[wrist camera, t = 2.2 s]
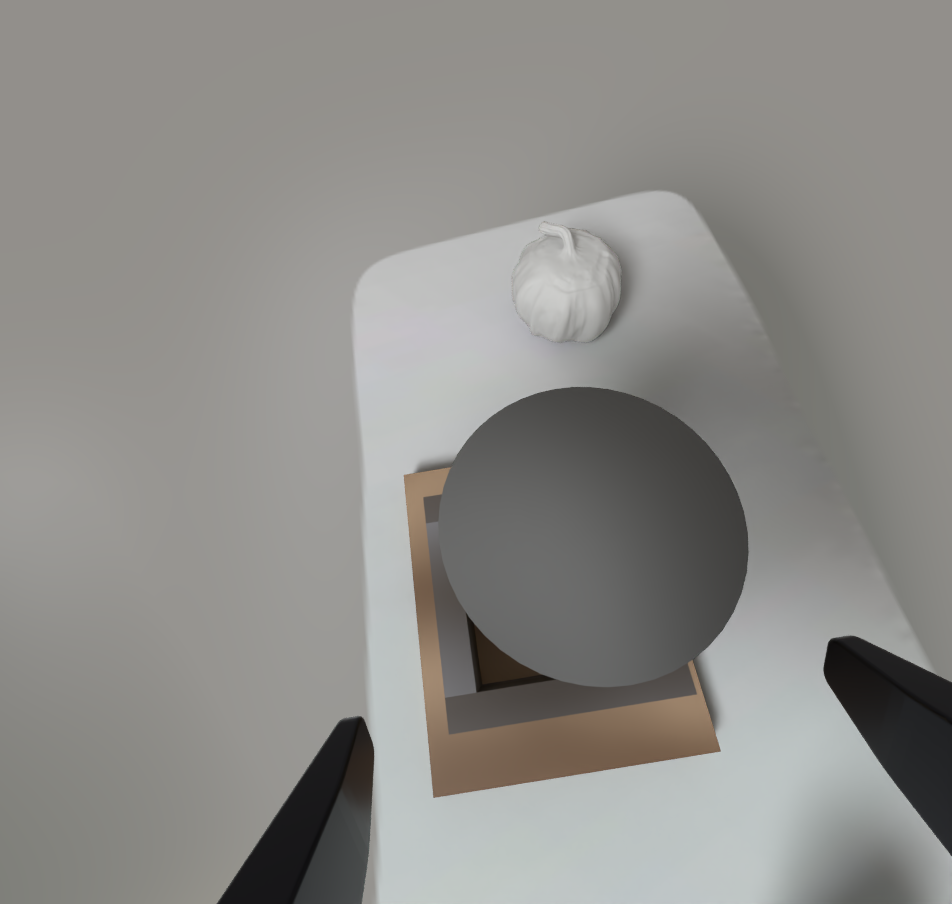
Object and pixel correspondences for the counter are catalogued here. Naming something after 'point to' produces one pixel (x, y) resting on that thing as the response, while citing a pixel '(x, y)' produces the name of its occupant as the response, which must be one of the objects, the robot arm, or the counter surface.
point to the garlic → (566, 284)
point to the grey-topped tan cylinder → (593, 537)
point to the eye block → (527, 692)
